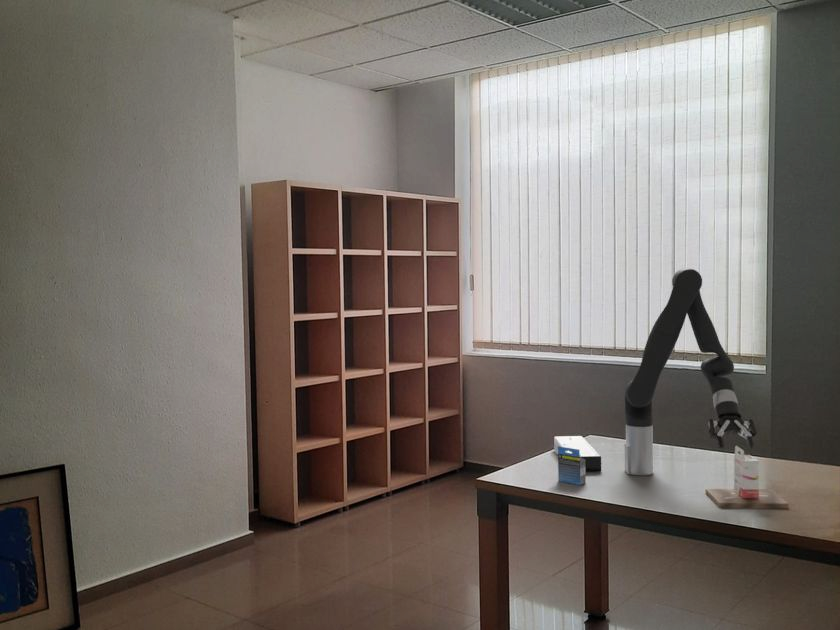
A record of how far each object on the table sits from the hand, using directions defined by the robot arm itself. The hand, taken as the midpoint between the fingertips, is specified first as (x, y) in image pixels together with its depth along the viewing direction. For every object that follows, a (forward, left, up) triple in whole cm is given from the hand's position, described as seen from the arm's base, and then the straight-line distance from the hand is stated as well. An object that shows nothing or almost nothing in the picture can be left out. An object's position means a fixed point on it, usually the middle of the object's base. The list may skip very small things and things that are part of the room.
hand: (736, 448), depth 244 cm
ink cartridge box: (+1, -7, -13) cm, 15 cm away
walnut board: (0, -8, -15) cm, 16 cm away
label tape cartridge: (-51, +12, -15) cm, 54 cm away
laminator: (-45, +43, -15) cm, 64 cm away
